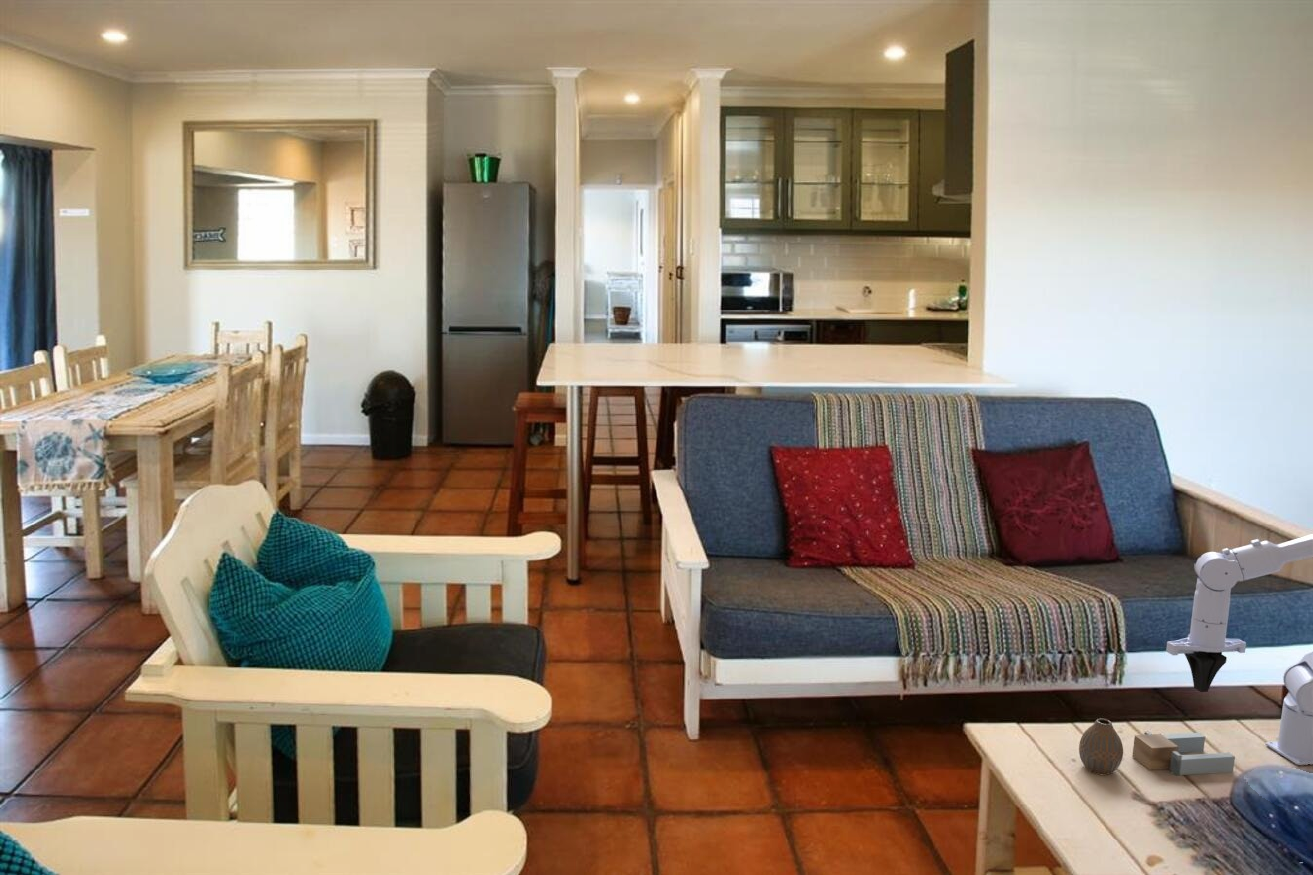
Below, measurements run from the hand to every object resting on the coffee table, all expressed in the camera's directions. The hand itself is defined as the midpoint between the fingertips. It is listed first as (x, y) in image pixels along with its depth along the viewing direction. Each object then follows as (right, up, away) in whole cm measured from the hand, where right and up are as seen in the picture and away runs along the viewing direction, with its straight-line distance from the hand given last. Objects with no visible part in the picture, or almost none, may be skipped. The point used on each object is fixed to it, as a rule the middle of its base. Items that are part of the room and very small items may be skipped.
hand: (1200, 689), depth 186 cm
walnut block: (-13, -11, -8) cm, 19 cm away
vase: (-24, -11, -11) cm, 28 cm away
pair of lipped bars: (-6, -11, -7) cm, 14 cm away
